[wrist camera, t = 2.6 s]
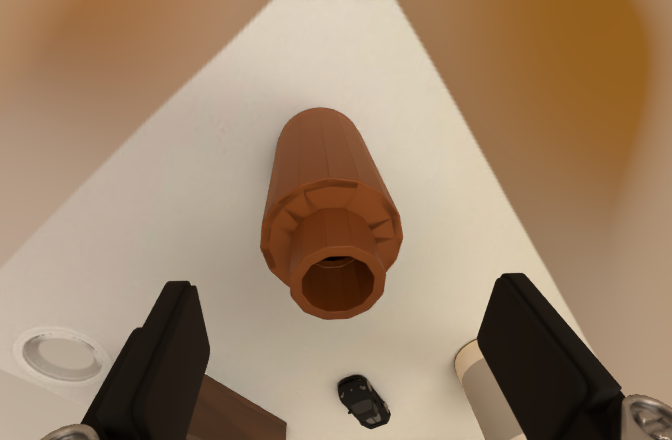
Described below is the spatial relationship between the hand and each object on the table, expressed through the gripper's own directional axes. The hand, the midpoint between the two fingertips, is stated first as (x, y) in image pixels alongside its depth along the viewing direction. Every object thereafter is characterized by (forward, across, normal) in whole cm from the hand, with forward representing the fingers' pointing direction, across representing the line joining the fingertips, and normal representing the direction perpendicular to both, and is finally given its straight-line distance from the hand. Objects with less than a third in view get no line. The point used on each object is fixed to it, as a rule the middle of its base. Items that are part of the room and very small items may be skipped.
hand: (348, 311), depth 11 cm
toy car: (+15, -4, +27) cm, 31 cm away
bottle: (+14, 0, 0) cm, 14 cm away
